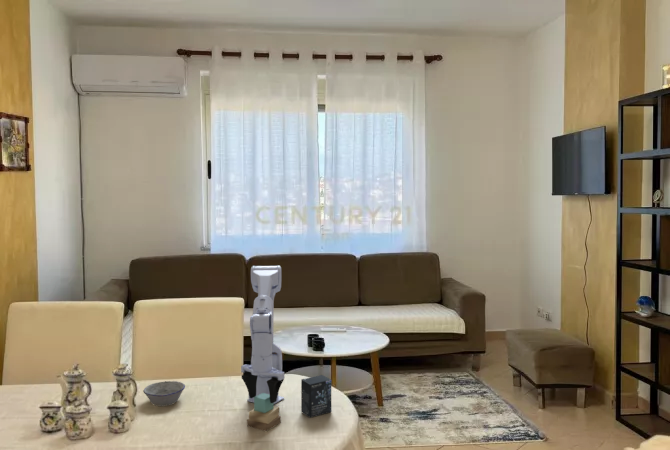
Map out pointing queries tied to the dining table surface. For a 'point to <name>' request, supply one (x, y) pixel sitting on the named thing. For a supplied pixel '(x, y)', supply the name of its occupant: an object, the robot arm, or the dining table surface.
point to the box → (316, 396)
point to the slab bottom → (264, 424)
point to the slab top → (264, 415)
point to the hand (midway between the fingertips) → (262, 399)
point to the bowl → (164, 392)
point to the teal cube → (263, 403)
